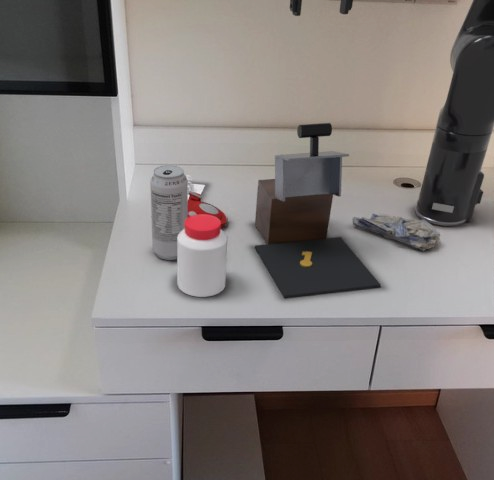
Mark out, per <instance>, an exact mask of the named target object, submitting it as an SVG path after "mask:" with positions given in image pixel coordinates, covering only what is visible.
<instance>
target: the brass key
mask: <svg viewBox="0 0 494 480" xmlns="http://www.w3.org/2000/svg"><path fill="white" fill-rule="evenodd" d="M311 255H312V252H308V251H306V252H304V251H303V252H302V256H305V258H304V260H302V261H300V265H301V266H303V267H311V266H312V262H311V261H310V259H311Z"/></svg>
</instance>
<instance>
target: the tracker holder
mask: <svg viewBox="0 0 494 480" xmlns="http://www.w3.org/2000/svg"><path fill="white" fill-rule="evenodd" d="M188 195H190V196H189V199H188V217H190V216H192V215H197V214H208V215H212V216H215V217H217V218H218V219H219V220H220V221H221V229H222V228H224V227H225V226H226V224H227V221H228V218H227V216H226V214H225V213H224V212H223V211H222V210H221V209H220V208H218V207H217V206H215V205H213V204H210V203H208V202H206V201H202V198H203V196H202V193H201V194H198V193H196V192H191V191H189V192H188Z"/></svg>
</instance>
